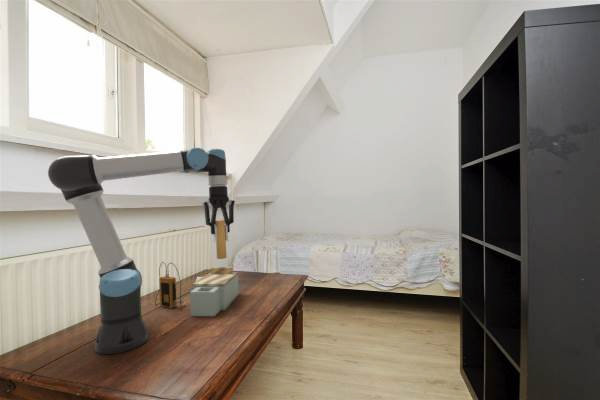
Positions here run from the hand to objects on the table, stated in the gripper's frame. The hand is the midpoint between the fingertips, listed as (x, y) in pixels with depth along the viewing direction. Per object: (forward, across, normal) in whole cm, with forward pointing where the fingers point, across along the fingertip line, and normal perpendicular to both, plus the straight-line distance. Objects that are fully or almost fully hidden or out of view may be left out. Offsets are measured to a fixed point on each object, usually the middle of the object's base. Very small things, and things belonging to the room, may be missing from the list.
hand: (220, 240), depth 129 cm
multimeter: (+29, +16, -21) cm, 39 cm away
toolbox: (+29, +1, -9) cm, 31 cm away
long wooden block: (+7, 0, 0) cm, 7 cm away
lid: (+19, -1, -11) cm, 22 cm away
